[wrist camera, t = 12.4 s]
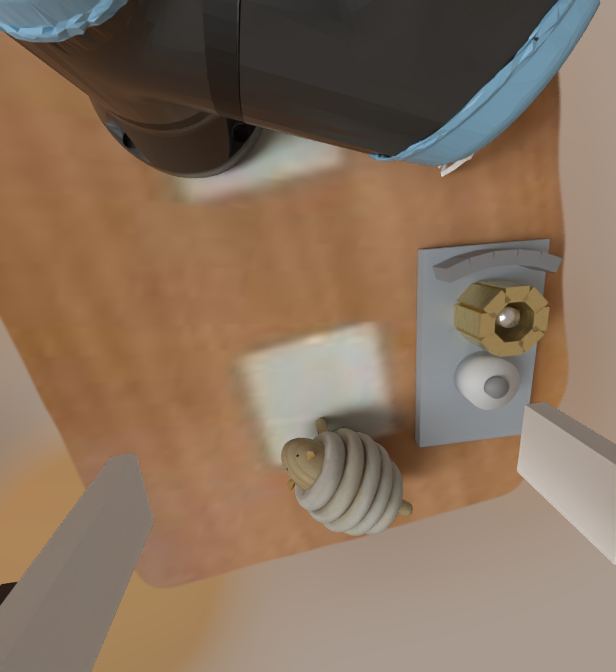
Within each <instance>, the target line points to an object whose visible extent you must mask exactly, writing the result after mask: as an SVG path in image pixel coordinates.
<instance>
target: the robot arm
mask: <svg viewBox="0 0 616 672" xmlns="http://www.w3.org/2000/svg"><path fill="white" fill-rule="evenodd" d="M599 4H600V0H0V31H3V32H5V33H6V34H7V35H9V36H10V37H11V38H13V39H14V40H15V41H17V42H18V43H19V44H21V45H22V46H23V47H25V48H26V49H27V50H29V51H30V52H31V53H33V54H34V55H35V56H37V57H38V58H39V59H41V60H42V61H43V62H45V63H46V64H47V65H49V66H50V67H51V68H53V69H54V70H55V71H57V72H58V73H59V74H60V75H62V76H63V77H64V78H66V79H67V80H68V81H70V82H71V83H72V84H74V85H75V86H76V87H78V88H79V89H80V90H82V91H83V92H84V93H86V94H87V95H88V96H89V98H90V100H91V102H92V104H93V106H94V109H95V111H96V112H97V114H98V116H99V118H100V119H101V121H102V122H103V124H104V125H105V127H106V128H107V129H108V131H109V132H110V133H111V134H112V136H113V137H114V138H115V139H116V140H117V141H118V142H119V143H120V144H121V145H122V146H123V147H124V148H125V149H126V150H127V151H129V152H130V153H131V154H132V155H134V156H135V157H136V158H138V159H140V160H141V161H143V162H144V163H146V164H148V165H149V166H151V167H153V168H155V169H157V170H159V171H161V172H164V173H167V174H170V175H173V176H178V177H184V178H203V177H209V176H213V175H216V174H219V173H222V172H224V171H226V170H228V169H229V168H231V167H233V166H234V165H236V164H237V163H238V162H239V161H241V160H242V159H243V158H244V157H245V156H246V155H247V154H248V152H249V151H250V150H251V149H252V147H253V146H254V144H255V143H256V141H257V139H258V137H259V136H260V133H261V131H262V129H263V128H266V129H270V130H274V131H278V132H282V133H286V134H290V135H294V136H298V137H302V138H306V139H311V140H315V141H319V142H323V143H327V144H331V145H335V146H339V147H343V148H347V149H351V150H355V151H359V152H363V153H367V154H369V156H370V157H371V158H373V159H376V160H379V161H385V162H386V161H396V160H399V161H404V162H409V163H414V164H419V165H424V166H442V165H444V164H447V163H453V162H456V161H459V160H462V159H465V158H467V157H469V156H470V155H472V154H474V153H475V152H477V151H479V150H480V149H482V148H483V147H485V146H486V145H488V144H489V143H490V142H492V141H493V140H494V139H495V138H496V137H498V136H499V135H500V134H501V133H502V132H504V131H505V130H506V129H507V128H508V127H509V126H510V125H511V124H512V123H513V122H514V121H515V120H516V119H517V118H518V117H519V116H520V115H521V114H522V113H523V112H524V111H525V110H526V109H527V108H528V107H529V106H530V105H531V103H532V102H533V101H534V100H535V99H536V98H537V97H538V95H539V94H540V93H541V92H542V91H543V90H544V88H545V87H546V86H547V85H548V83H549V82H550V81H551V80H552V78H553V77H554V76H555V74H556V73H557V72H558V70H559V69H560V68H561V66H562V65H563V63H564V62H565V61H566V59H567V58H568V56H569V55H570V53H571V52H572V50H573V49H574V47H575V45H576V44H577V43H578V41H579V40H580V38H581V36H582V35H583V33H584V32H585V30H586V28H587V27H588V25H589V23H590V21H591V20H592V18H593V16H594V14H595V12H596V11H597V9H598V7H599ZM517 472H518V473H519V474H520V475H521V476H522V477H523V478H525V479H526V480H527V481H528V482H529V483H530V484H531V485H532V486H533V487H534V488H535V489H536V490H537V491H538V492H539V493H540V494H541V495H542V496H543V497H544V498H545V499H546V500H547V501H549V502H550V503H551V504H552V505H553V506H554V507H555V508H556V509H557V510H558V511H559V512H560V513H561V514H562V515H563V516H564V517H565V518H566V519H567V520H569V522H571V523H572V524H573V525H574V526H575V527H576V528H577V529H578V530H579V531H580V532H581V533H582V534H583V535H584V536H585V537H586V538H587V539H588V540H589V541H590V542H592V544H593V545H595V546H596V547H597V548H598V549H599V550H600V551H601V552H602V553H603V554H604V555H605V556H606V557H607V558H608V559H609V560H610V561H611V562H612V563H613V564H614V565H615V566H616V444H614V443H613V442H611V441H609V440H608V439H606V438H604V437H603V436H601V435H599V434H598V433H596V432H595V431H593V430H591V429H590V428H588V427H586V426H585V425H583V424H581V423H579V422H578V421H576V420H575V419H573V418H571V417H570V416H568V415H566V414H565V413H563V412H561V411H560V410H558V409H556V408H555V407H553V406H551V405H550V404H548V403H546V402H543V403H535V404H527V405H525V410H524V418H523V426H522V434H521V443H520V451H519V459H518V468H517ZM153 523H154V520H153V516H152V512H151V509H150V505H149V501H148V497H147V493H146V490H145V486H144V482H143V478H142V474H141V471H140V467H139V463H138V459H137V455H136V453H133V454H125V455H117V456H111V457H110V458H109V460H108V461H107V462H106V464H105V465H104V466H103V468H102V469H101V470H100V472H99V473H98V475H97V476H96V477H95V479H94V480H93V481H92V483H91V484H90V485H89V487H88V488H87V489H86V491H85V492H84V493H83V495H82V496H81V497H80V499H79V500H78V502H77V503H76V504H75V506H74V507H73V508H72V510H71V511H70V512H69V514H68V515H67V516H66V518H65V519H64V520H63V522H62V523H61V524H60V526H59V527H58V529H57V530H56V531H55V533H54V534H53V535H52V537H51V538H50V539H49V541H48V542H47V543H46V545H45V546H44V547H43V549H42V550H41V552H40V553H39V554H38V556H37V557H36V558H35V560H34V561H33V562H32V564H31V565H30V566H29V568H28V569H27V571H26V572H25V573H24V574H23V576H22V577H21V578H20V580H19V581H18V582H14V583H6V584H2V585H0V672H91V671H92V669H93V667H94V664H95V662H96V659H97V657H98V655H99V652H100V650H101V647H102V645H103V643H104V640H105V638H106V636H107V633H108V631H109V628H110V626H111V623H112V621H113V619H114V616H115V614H116V612H117V609H118V607H119V604H120V602H121V599H122V597H123V595H124V593H125V590H126V588H127V585H128V583H129V581H130V578H131V576H132V573H133V571H134V569H135V566H136V564H137V561H138V559H139V557H140V554H141V552H142V550H143V547H144V545H145V542H146V540H147V538H148V535H149V533H150V530H151V528H152V526H153Z"/></svg>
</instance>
